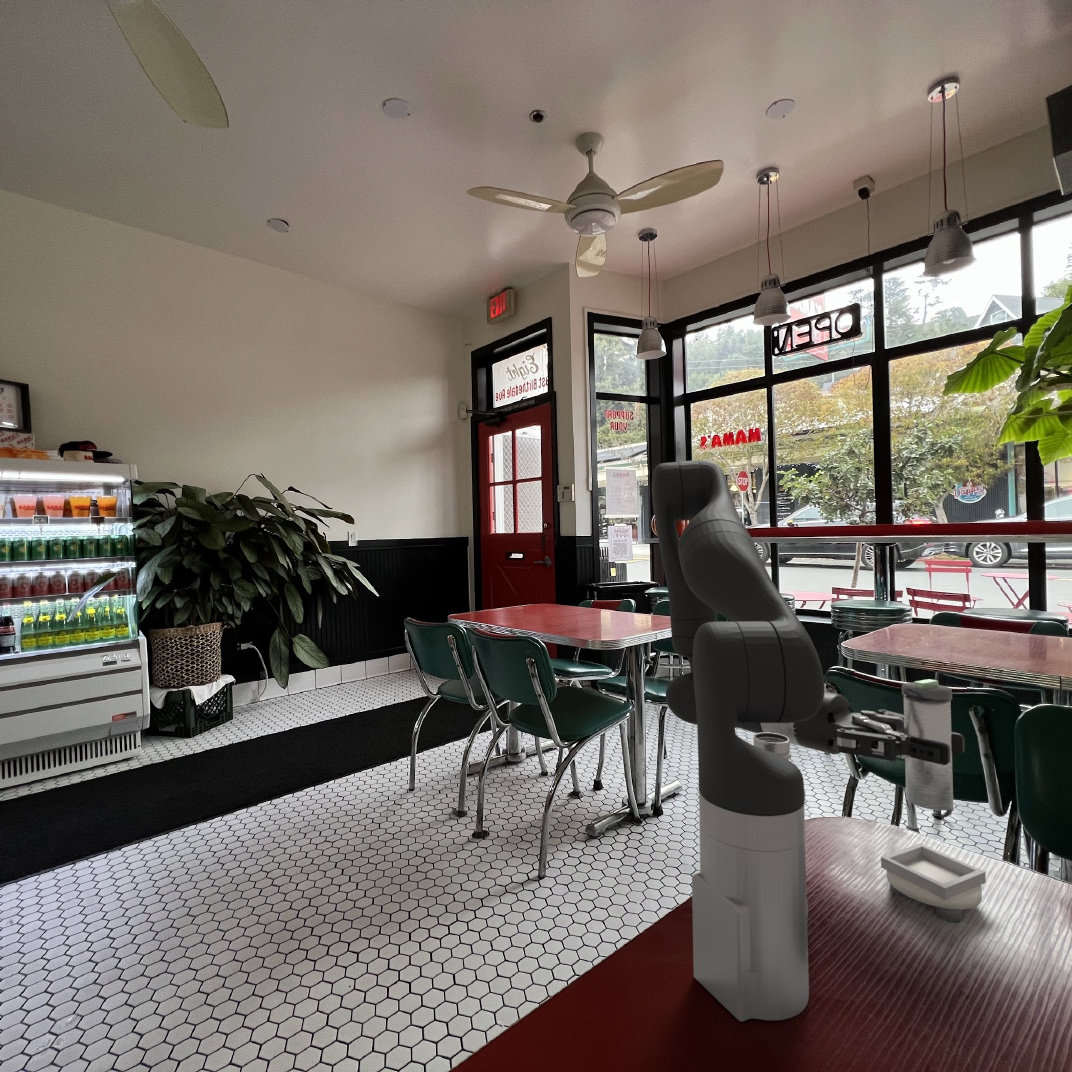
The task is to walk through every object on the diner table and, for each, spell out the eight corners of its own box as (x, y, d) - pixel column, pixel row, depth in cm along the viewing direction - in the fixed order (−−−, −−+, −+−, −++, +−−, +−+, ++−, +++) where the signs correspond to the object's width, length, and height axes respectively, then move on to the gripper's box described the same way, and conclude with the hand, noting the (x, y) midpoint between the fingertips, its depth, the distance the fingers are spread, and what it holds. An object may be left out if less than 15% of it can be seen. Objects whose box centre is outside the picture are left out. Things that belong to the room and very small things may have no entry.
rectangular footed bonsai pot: (950, 933, 62) (949, 894, 62) (869, 888, 70) (868, 855, 70) (1000, 909, 66) (999, 873, 66) (918, 870, 74) (917, 838, 74)
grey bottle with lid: (937, 814, 65) (934, 687, 65) (895, 797, 69) (892, 679, 70) (964, 805, 67) (961, 683, 67) (921, 790, 71) (918, 675, 72)
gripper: (776, 698, 75) (934, 729, 62) (828, 680, 84) (974, 704, 71) (777, 758, 75) (936, 802, 62) (829, 734, 84) (976, 767, 71)
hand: (955, 749), depth 66 cm, fingers closed on grey bottle with lid, 4 cm apart
